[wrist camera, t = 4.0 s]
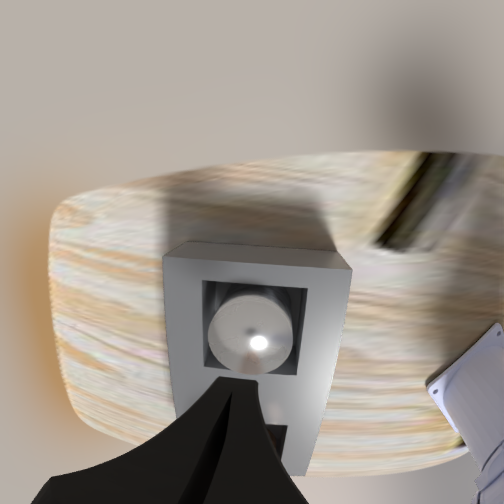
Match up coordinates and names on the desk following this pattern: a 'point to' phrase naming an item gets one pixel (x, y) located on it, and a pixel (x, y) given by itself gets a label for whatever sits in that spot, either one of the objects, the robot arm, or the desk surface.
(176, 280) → the block
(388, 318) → the desk surface
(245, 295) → the aluminium plunger
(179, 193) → the desk surface
